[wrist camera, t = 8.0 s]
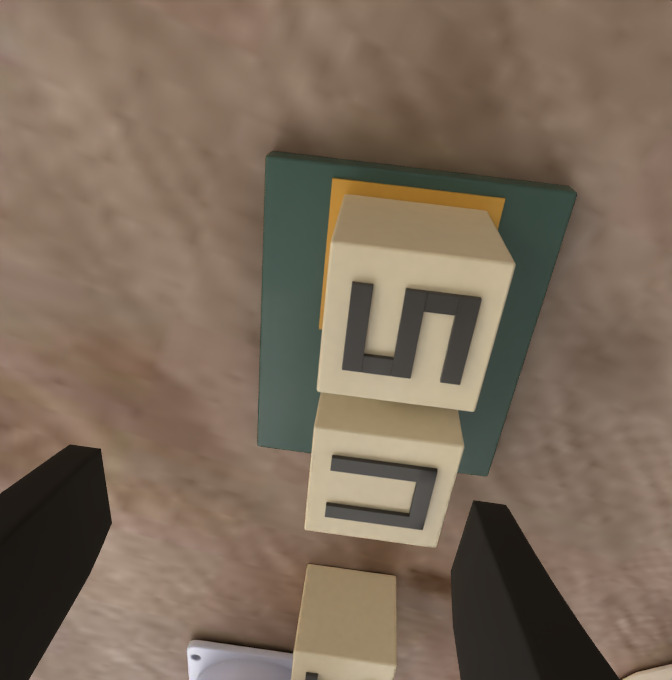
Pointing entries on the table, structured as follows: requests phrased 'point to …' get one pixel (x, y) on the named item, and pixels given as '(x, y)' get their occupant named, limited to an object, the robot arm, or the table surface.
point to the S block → (412, 302)
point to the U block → (382, 469)
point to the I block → (346, 626)
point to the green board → (312, 267)
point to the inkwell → (653, 674)
